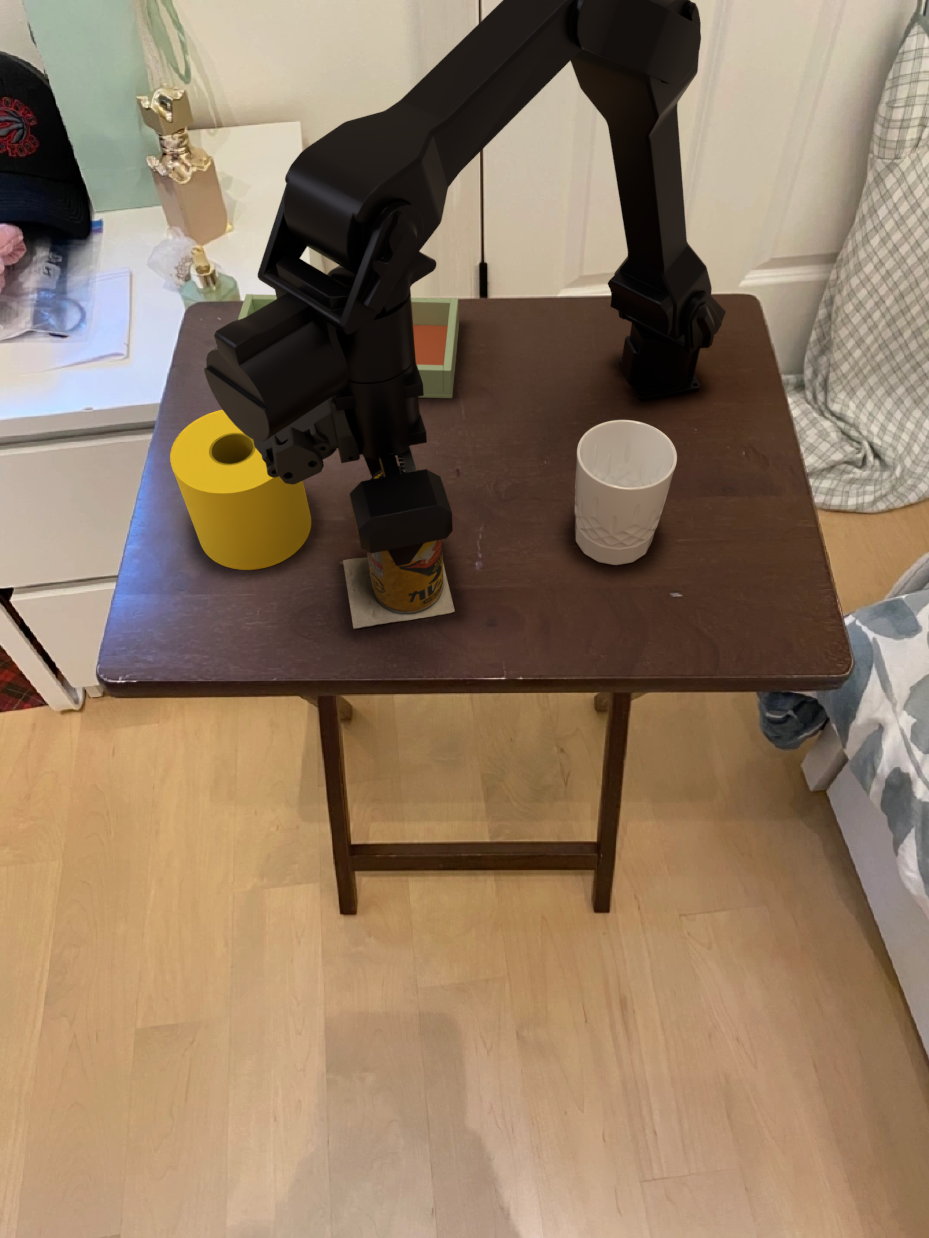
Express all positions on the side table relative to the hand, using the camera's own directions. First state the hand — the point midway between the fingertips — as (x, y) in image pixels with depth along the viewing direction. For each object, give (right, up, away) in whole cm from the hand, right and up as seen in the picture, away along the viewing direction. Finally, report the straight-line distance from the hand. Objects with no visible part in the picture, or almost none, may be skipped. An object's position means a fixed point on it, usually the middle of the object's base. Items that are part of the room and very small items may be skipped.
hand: (390, 519), depth 72 cm
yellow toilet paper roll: (-13, 0, +11) cm, 17 cm away
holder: (-6, +19, +25) cm, 32 cm away
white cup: (+19, -1, +10) cm, 21 cm away
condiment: (0, -5, +7) cm, 9 cm away
